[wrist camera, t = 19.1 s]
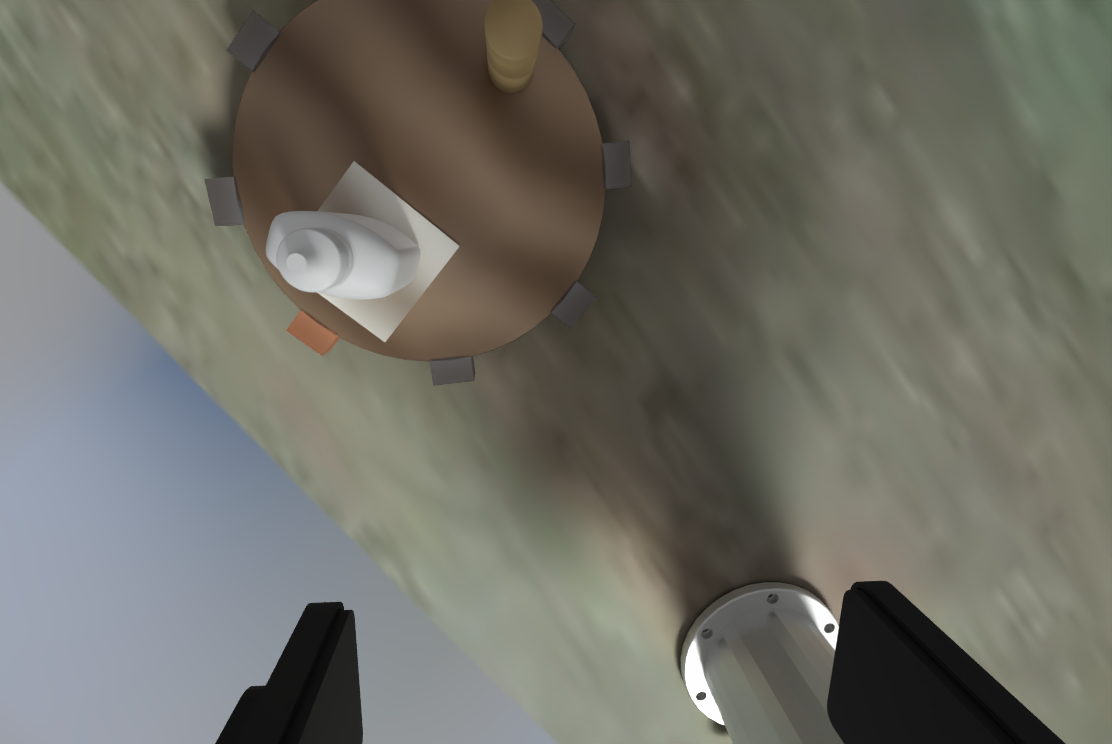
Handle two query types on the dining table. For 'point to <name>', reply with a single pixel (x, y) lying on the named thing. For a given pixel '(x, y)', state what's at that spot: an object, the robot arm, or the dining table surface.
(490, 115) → the sprocket
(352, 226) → the eye dropper bottle
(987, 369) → the dining table surface
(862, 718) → the robot arm
